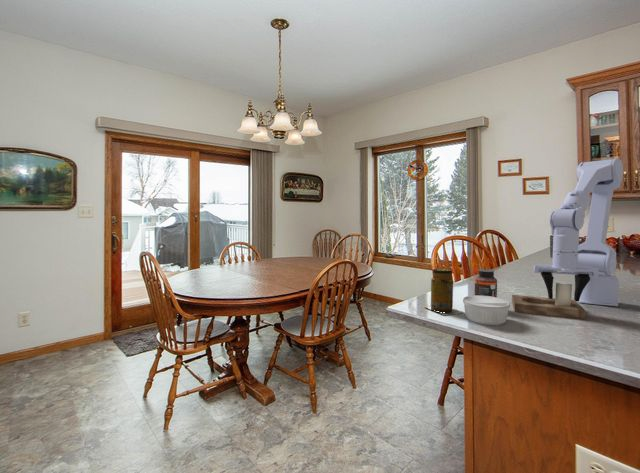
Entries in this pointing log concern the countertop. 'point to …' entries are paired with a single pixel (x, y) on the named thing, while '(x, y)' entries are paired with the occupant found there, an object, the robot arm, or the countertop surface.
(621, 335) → the countertop surface
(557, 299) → the cream peg
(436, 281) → the condiment
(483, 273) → the supplement bottle
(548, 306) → the keyhole board
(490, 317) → the ramekin
